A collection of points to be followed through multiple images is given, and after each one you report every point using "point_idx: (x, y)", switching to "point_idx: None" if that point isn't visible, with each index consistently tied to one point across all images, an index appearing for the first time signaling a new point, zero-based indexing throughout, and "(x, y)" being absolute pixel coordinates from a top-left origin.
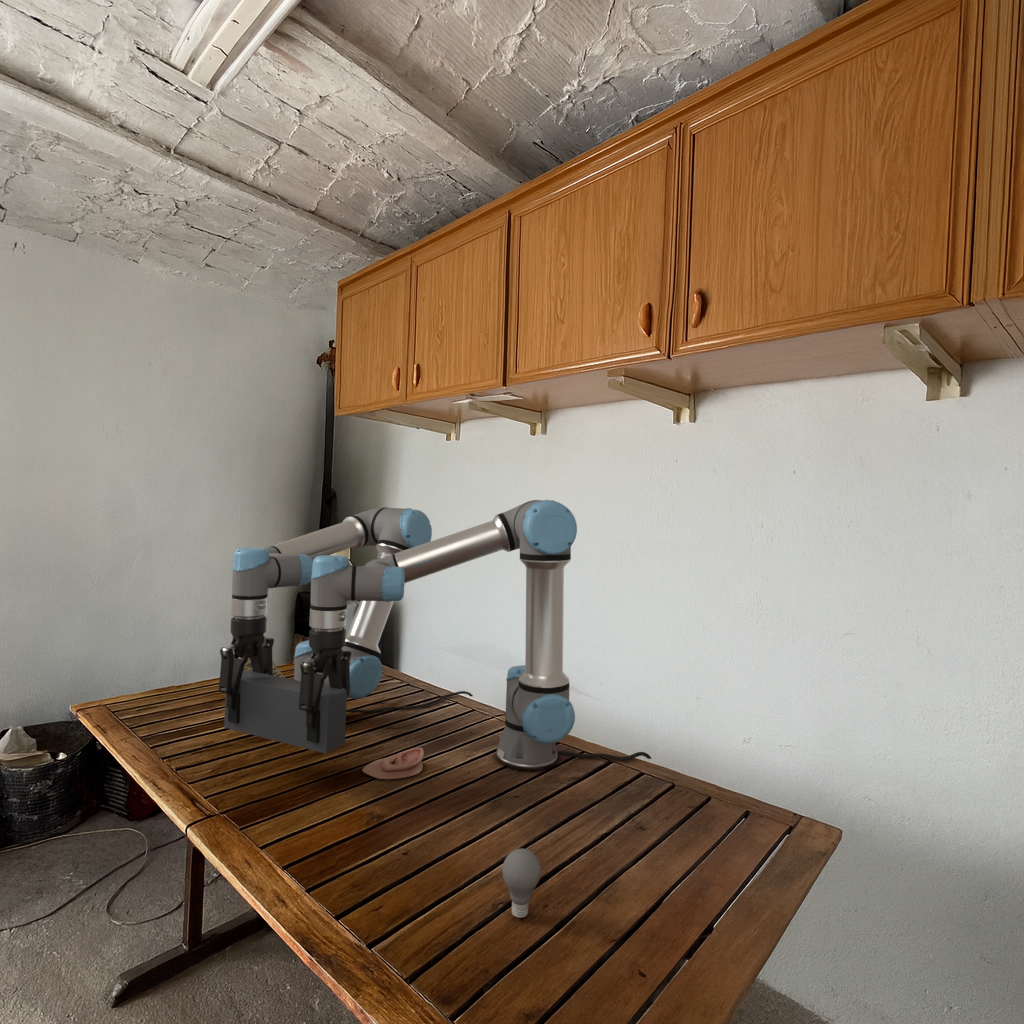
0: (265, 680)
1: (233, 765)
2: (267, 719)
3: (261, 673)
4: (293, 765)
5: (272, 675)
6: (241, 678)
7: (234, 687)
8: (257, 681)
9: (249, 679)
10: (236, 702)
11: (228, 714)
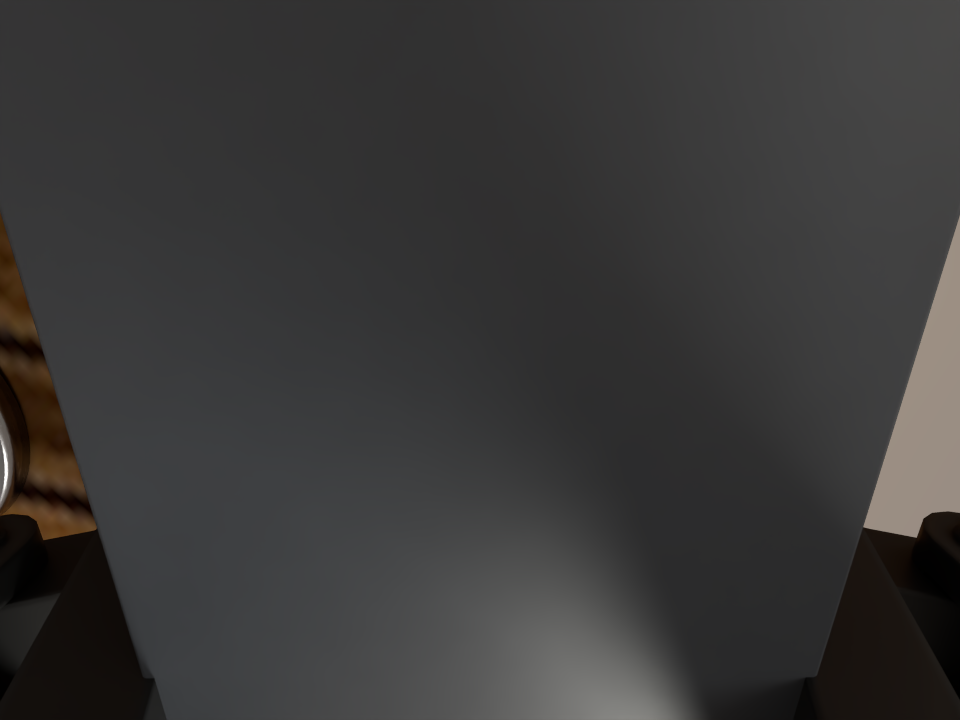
0: (606, 18)
1: None
2: None
3: (152, 655)
4: None
5: (30, 294)
6: (733, 708)
7: (882, 565)
8: (834, 182)
9: (733, 526)
10: None
11: None
